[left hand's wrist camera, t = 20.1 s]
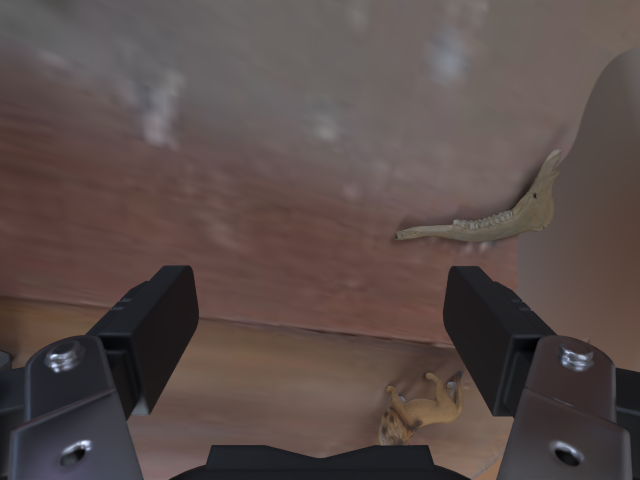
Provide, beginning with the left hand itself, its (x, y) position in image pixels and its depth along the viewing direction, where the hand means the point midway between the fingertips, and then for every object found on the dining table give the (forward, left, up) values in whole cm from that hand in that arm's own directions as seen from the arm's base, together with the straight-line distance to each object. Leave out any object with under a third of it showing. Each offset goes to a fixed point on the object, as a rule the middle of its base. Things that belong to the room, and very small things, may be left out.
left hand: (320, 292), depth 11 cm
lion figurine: (+38, +4, -32) cm, 50 cm away
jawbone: (+10, +16, -32) cm, 37 cm away
